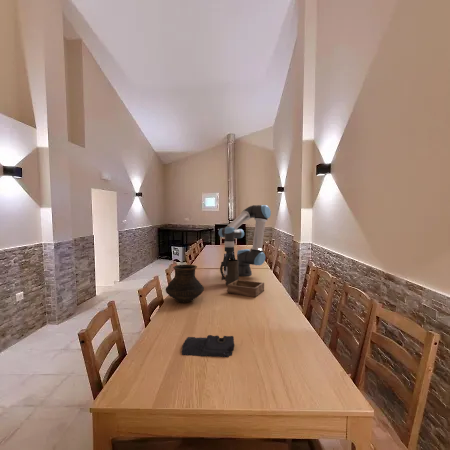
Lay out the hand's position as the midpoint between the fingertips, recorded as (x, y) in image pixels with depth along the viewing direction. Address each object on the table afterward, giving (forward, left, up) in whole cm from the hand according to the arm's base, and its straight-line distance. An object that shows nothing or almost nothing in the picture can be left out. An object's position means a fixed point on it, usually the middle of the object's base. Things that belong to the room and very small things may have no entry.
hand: (229, 273), depth 226 cm
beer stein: (0, 0, -9) cm, 9 cm away
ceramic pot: (+50, -8, -9) cm, 51 cm away
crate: (+14, +20, -9) cm, 26 cm away
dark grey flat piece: (+98, +38, -10) cm, 106 cm away
